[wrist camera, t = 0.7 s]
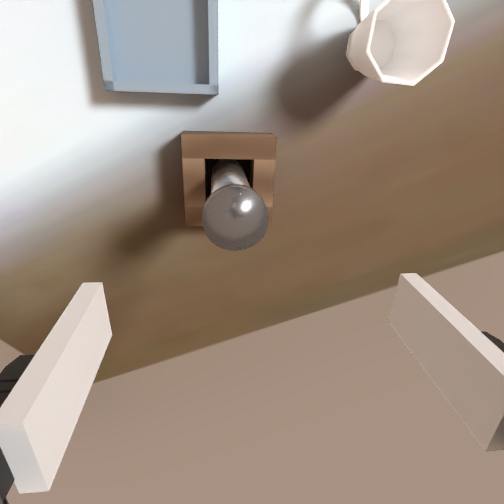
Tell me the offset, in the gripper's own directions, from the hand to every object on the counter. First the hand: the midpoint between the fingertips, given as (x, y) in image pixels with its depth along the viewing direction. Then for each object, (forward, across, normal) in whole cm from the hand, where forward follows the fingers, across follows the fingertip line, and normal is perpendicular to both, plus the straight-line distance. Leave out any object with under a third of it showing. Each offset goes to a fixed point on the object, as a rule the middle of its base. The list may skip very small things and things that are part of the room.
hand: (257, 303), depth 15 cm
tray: (+24, -6, +15) cm, 29 cm away
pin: (+24, 0, 0) cm, 24 cm away
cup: (+25, +13, +14) cm, 31 cm away
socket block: (+24, 0, 0) cm, 24 cm away
